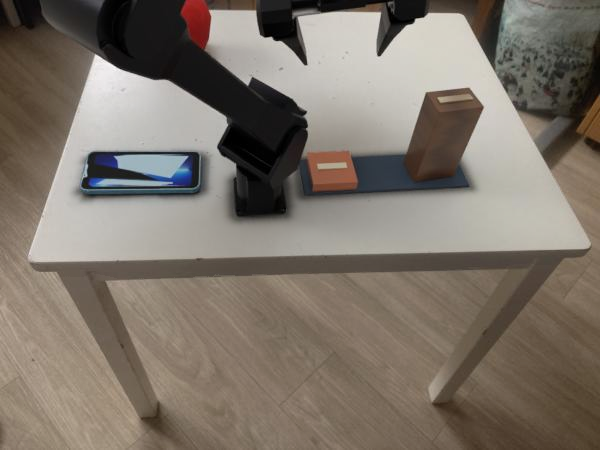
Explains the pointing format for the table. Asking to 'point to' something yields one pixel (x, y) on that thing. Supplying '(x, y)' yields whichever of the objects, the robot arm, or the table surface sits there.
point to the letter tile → (331, 171)
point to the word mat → (384, 176)
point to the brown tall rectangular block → (442, 133)
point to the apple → (197, 21)
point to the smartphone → (141, 172)
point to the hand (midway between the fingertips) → (341, 58)
